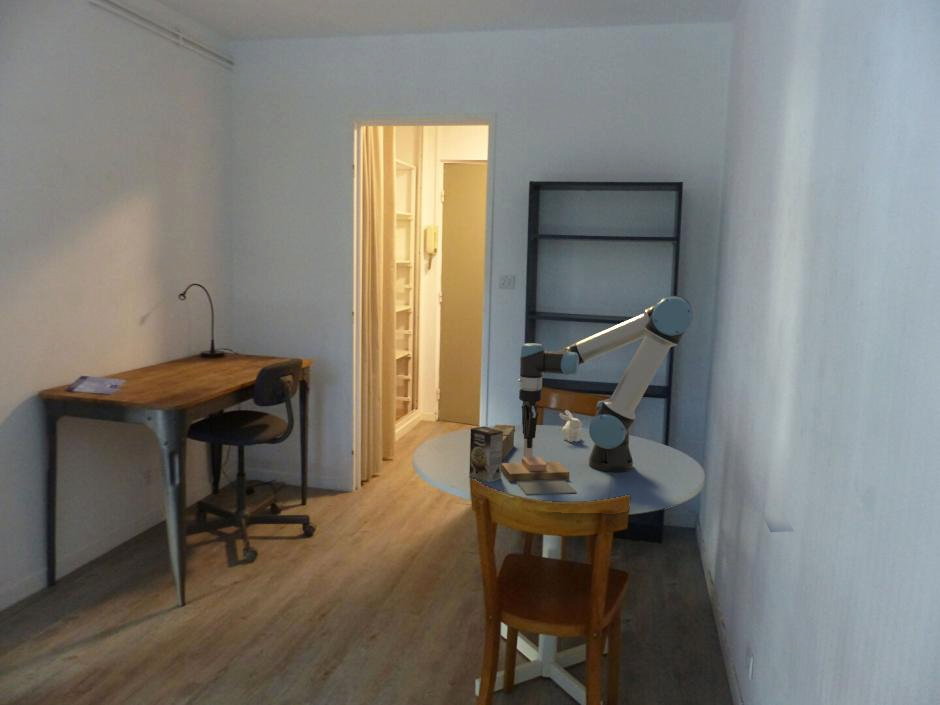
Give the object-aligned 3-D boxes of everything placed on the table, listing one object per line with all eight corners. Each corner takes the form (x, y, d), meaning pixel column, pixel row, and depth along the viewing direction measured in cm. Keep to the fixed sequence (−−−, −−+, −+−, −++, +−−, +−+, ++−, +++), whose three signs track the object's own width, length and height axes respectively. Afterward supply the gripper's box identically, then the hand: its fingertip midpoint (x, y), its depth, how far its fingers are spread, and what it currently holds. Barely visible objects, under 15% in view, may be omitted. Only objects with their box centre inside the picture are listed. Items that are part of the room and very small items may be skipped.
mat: (563, 480, 227) (563, 479, 227) (576, 493, 214) (576, 492, 214) (515, 481, 224) (516, 480, 224) (526, 495, 211) (526, 493, 211)
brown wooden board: (557, 469, 239) (558, 461, 239) (569, 479, 227) (569, 472, 227) (501, 470, 236) (501, 463, 235) (509, 481, 224) (509, 473, 224)
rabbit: (582, 443, 275) (584, 413, 274) (558, 442, 276) (560, 413, 274) (579, 436, 287) (580, 407, 286) (556, 435, 288) (557, 406, 286)
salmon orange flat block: (521, 463, 236) (522, 457, 236) (538, 462, 237) (539, 457, 237) (528, 470, 227) (529, 465, 227) (546, 470, 228) (546, 464, 228)
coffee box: (468, 476, 228) (469, 428, 226) (482, 472, 233) (483, 425, 231) (488, 483, 222) (489, 433, 220) (502, 479, 226) (503, 430, 224)
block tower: (499, 468, 243) (515, 445, 271) (499, 444, 242) (516, 424, 269) (477, 465, 245) (495, 443, 273) (477, 442, 243) (496, 422, 271)
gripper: (515, 385, 242) (512, 451, 245) (524, 392, 230) (522, 461, 233) (536, 385, 244) (533, 451, 247) (546, 392, 231) (543, 461, 234)
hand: (527, 456), depth 240 cm, fingers closed
